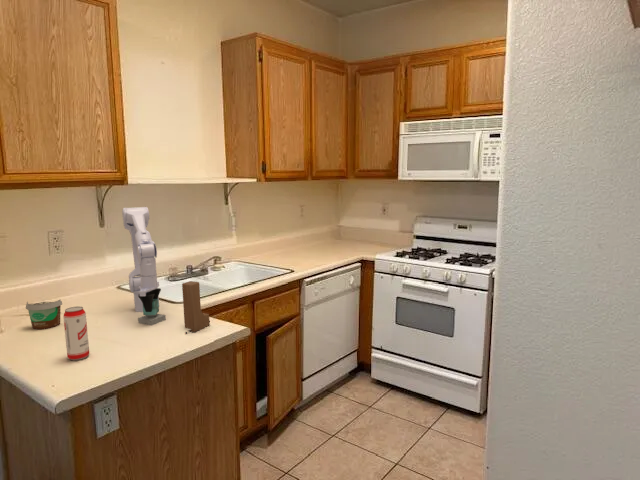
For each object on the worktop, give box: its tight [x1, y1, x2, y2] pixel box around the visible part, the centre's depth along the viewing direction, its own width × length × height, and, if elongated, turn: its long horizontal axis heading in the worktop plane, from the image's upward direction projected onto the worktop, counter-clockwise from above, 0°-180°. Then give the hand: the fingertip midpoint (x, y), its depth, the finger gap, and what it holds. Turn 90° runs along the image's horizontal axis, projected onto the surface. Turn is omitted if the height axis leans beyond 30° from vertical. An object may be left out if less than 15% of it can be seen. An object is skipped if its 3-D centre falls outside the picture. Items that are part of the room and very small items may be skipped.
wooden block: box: [181, 280, 211, 333], centre depth 168 cm, size 9×4×18 cm, turn 155°
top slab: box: [137, 313, 167, 326], centre depth 174 cm, size 7×7×2 cm
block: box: [142, 299, 160, 316], centre depth 173 cm, size 4×4×5 cm
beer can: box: [63, 306, 90, 362], centre depth 143 cm, size 6×6×16 cm
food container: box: [25, 299, 63, 331], centre depth 172 cm, size 12×6×10 cm, turn 105°
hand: (151, 309), depth 174 cm, fingers closed on block, 4 cm apart
